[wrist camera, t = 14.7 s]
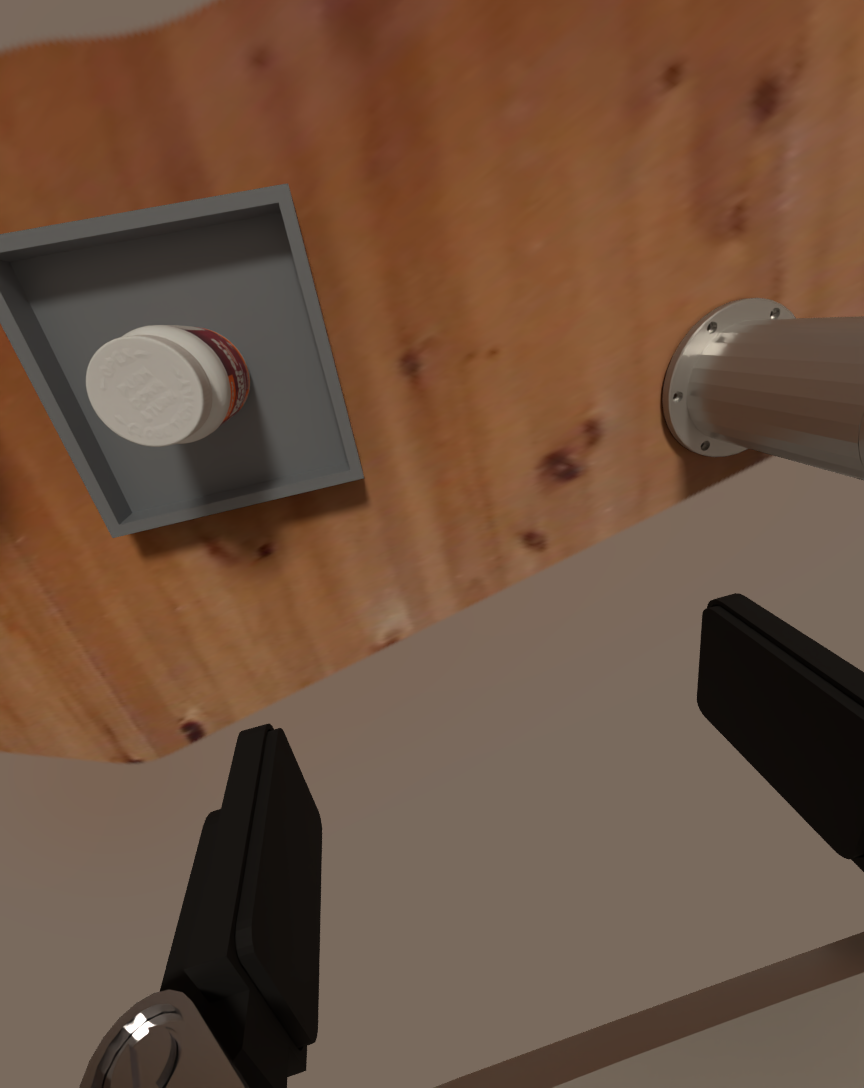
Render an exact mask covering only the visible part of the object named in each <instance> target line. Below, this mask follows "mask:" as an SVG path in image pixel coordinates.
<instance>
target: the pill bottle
mask: <svg viewBox="0 0 864 1088" xmlns="http://www.w3.org/2000/svg"><path fill="white" fill-rule="evenodd" d="M86 389H87V394H88V397H89V400H90V402H91V405H92V407H93V409H94V410H95V412H96V414H97V415H98V417H99V418H100V419H101V420H102V421H103V422H104V424H105V425H106V426H107V427H109V428H110V429H111V430H112V431H113V432H115V433H116V434H117V435H119V436H121V437H122V438H125V439H127V440H129V441H131V442H134V443H136V444H139V445H144V446H151V447H162V446H169V445H173V444H185V443H191V442H194V441H198V440H200V439H202V438H204V437H206V436H208V435H210V434H211V433H213V432H214V431H215V430H216V429H218V428H219V427H220V426H221V425H222V424H223V423H225V422H226V421H227V420H229V419H230V418H231V417H232V416H234V415H235V414H236V413H237V412H238V411H239V410H240V409H241V408H242V407H243V405H244V403H245V402H246V400H247V397H248V394H249V390H250V374H249V370H248V367H247V364H246V362H245V360H244V358H243V356H242V354H241V353H240V351H239V350H238V349H237V348H236V347H235V346H234V345H233V344H232V343H231V342H230V341H229V340H228V339H226V338H225V337H223V336H222V335H220V334H218V333H216V332H214V331H211V330H209V329H205V328H199V327H192V326H180V325H152V326H144V327H140V328H137V329H134V330H132V331H130V332H128V333H126V334H125V335H123V336H122V337H120V338H116V339H113V340H111V341H109V342H107V343H106V344H104V345H103V346H102V347H100V348H99V349H98V350H97V351H96V353H95V354H94V355H93V357H92V358H91V360H90V362H89V365H88V368H87V373H86Z"/></svg>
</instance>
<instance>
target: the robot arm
mask: <svg viewBox="0 0 864 1088" xmlns="http://www.w3.org/2000/svg"><path fill="white" fill-rule="evenodd" d="M662 402H663V411H664V417H665V420H666V423H667V426H668V428H669V430H670V432H671V433H672V435H673V437H674V438H675V439H676V440H677V441H678V442H679V443H680V444H681V445H682V446H684V447H685V448H687V449H688V450H690V451H692V452H695V453H698V454H701V455H705V456H710V457H726V456H730V455H734V454H738V453H740V452H742V451H745V450H747V449H752V450H756V451H760V452H763V453H767V454H770V455H774V456H778V457H781V458H785V459H788V460H792V461H796V462H799V463H803V464H806V465H810V466H814V467H818V468H821V469H824V470H828V471H832V472H836V473H839V474H843V475H846V476H850V477H854V478H857V479H861V480H864V316H863V317H830V318H797V319H796V318H795V316H794V315H793V313H792V312H791V311H789V310H788V309H787V308H786V307H785V306H783V305H782V304H780V303H777V302H775V301H773V300H770V299H763V298H749V299H741V300H736V301H732V302H729V303H726V304H724V305H722V306H720V307H717V308H716V309H714V310H713V311H711V312H710V313H708V314H707V315H705V316H704V317H703V318H702V319H701V320H699V321H698V322H697V323H696V324H695V325H694V326H693V327H692V328H691V329H690V331H689V332H688V333H687V334H686V336H685V337H684V338H683V340H682V341H681V342H680V344H679V346H678V348H677V349H676V351H675V353H674V355H673V357H672V359H671V362H670V364H669V367H668V370H667V373H666V377H665V381H664V386H663V400H662ZM697 703H698V706H699V709H700V711H701V712H702V714H703V715H704V716H705V717H706V718H707V719H708V720H709V722H711V724H712V725H713V726H714V727H715V728H716V729H717V730H718V731H719V732H720V733H721V734H722V735H723V736H724V737H725V738H726V739H727V740H728V741H729V742H730V743H731V744H732V745H733V746H734V747H735V748H736V749H737V750H738V751H739V753H740V754H742V756H743V757H744V758H745V759H746V760H747V761H748V762H749V763H750V764H751V765H752V766H753V767H754V768H755V769H756V770H757V771H758V772H759V773H760V774H761V775H762V776H763V777H764V778H765V779H766V780H767V781H768V782H769V783H770V785H771V786H772V787H773V788H774V789H775V790H776V791H777V792H778V793H779V794H780V795H781V796H782V797H783V798H784V799H785V800H786V801H787V802H788V803H789V804H790V805H791V806H792V807H793V808H794V809H795V810H796V811H797V812H798V813H799V814H800V816H802V818H803V819H804V820H805V821H806V822H807V823H808V824H809V825H810V826H811V827H812V828H813V829H814V830H815V831H816V832H817V833H818V834H819V835H820V836H821V837H822V838H823V839H824V840H825V841H826V842H827V843H828V844H829V845H830V846H831V847H832V848H833V849H834V850H835V851H836V852H837V853H838V854H839V855H841V856H842V857H844V858H846V859H851V860H852V861H854V863H855V864H856V865H858V867H859V868H860V869H861V870H862V871H863V872H864V672H863V671H861V670H859V669H858V668H856V667H854V666H853V665H852V664H850V663H848V662H847V661H845V660H844V659H842V658H840V657H839V656H837V655H836V654H834V653H833V652H831V651H830V650H828V649H827V648H825V647H823V646H822V645H820V644H819V643H817V642H816V641H814V640H813V639H811V638H809V637H808V636H806V635H804V634H803V633H801V632H800V631H798V630H797V629H795V628H794V627H792V626H790V625H789V624H787V623H786V622H784V621H783V620H781V619H780V618H778V617H776V616H775V615H773V614H772V613H770V612H769V611H767V610H766V609H764V608H762V607H761V606H759V605H757V604H756V603H755V602H753V601H751V600H750V599H748V598H747V597H745V596H743V595H741V594H736V593H735V594H732V595H728V596H724V597H721V598H717V599H714V600H711V601H710V602H709V604H708V606H707V609H705V610H704V611H703V615H702V630H701V645H700V660H699V675H698V690H697ZM321 856H322V824H321V818H320V814H319V811H318V809H317V807H316V805H315V802H314V800H313V798H312V795H311V793H310V791H309V788H308V786H307V784H306V782H305V780H304V777H303V775H302V772H301V770H300V768H299V766H298V763H297V761H296V759H295V756H294V754H293V752H292V749H291V747H290V745H289V743H288V741H287V738H286V736H285V733H284V731H283V730H282V729H281V728H278V729H275V730H274V729H273V727H272V725H270V724H266V725H262V726H258V727H255V728H251V729H248V730H244V731H241V732H240V733H239V736H238V739H237V743H236V747H235V752H234V756H233V761H232V765H231V769H230V773H229V777H228V782H227V786H226V790H225V794H224V799H223V803H222V808H221V809H219V810H216V811H213V812H211V813H210V814H209V815H208V816H207V818H206V820H205V823H204V825H203V829H202V833H201V837H200V840H199V844H198V848H197V852H196V856H195V859H194V863H193V867H192V871H191V874H190V879H189V882H188V886H187V890H186V894H185V897H184V901H183V905H182V909H181V913H180V916H179V920H178V924H177V928H176V932H175V936H174V939H173V943H172V947H171V951H170V955H169V958H168V962H167V966H166V970H165V974H164V978H163V981H162V985H161V989H160V992H157V993H153V994H151V995H150V996H148V997H146V998H144V999H142V1000H141V1001H139V1002H137V1003H136V1004H135V1005H134V1006H133V1007H131V1008H130V1009H129V1010H128V1011H127V1012H126V1013H124V1014H123V1015H122V1016H121V1017H120V1018H119V1019H118V1020H117V1021H116V1023H115V1024H114V1025H113V1026H112V1028H111V1029H110V1030H109V1031H108V1032H107V1034H106V1035H105V1036H104V1037H103V1039H102V1041H101V1043H100V1044H99V1046H98V1047H97V1049H96V1051H95V1052H94V1054H93V1056H92V1057H91V1059H90V1061H89V1064H88V1066H87V1069H86V1071H85V1074H84V1076H83V1079H82V1082H81V1084H80V1088H287V1077H289V1076H292V1075H295V1074H298V1073H301V1072H303V1071H306V1058H307V1045H310V1044H312V1043H314V1042H315V1041H316V1038H317V1032H318V999H319V998H318V997H319V952H320V906H321V859H322V857H321ZM434 1088H864V932H862V933H860V934H857V935H853V936H851V937H848V938H845V939H842V940H839V941H836V942H834V943H831V944H828V945H825V946H822V947H819V948H817V949H814V950H811V951H808V952H805V953H802V954H800V955H797V956H794V957H791V958H788V959H786V960H783V961H780V962H777V963H774V964H771V965H769V966H766V967H763V968H760V969H757V970H755V971H752V972H749V973H746V974H743V975H741V976H738V977H735V978H733V979H729V980H727V981H724V982H721V983H719V984H716V985H713V986H710V987H707V988H704V989H702V990H699V991H696V992H693V993H690V994H688V995H685V996H682V997H680V998H677V999H674V1000H671V1001H668V1002H665V1003H663V1004H660V1005H657V1006H655V1007H652V1008H649V1009H646V1010H643V1011H640V1012H638V1013H635V1014H632V1015H629V1016H627V1017H624V1018H621V1019H618V1020H616V1021H613V1022H610V1023H607V1024H604V1025H602V1026H599V1027H596V1028H594V1029H591V1030H588V1031H586V1032H583V1033H580V1034H577V1035H574V1036H572V1037H569V1038H566V1039H563V1040H561V1041H558V1042H555V1043H553V1044H550V1045H547V1046H544V1047H542V1048H539V1049H536V1050H533V1051H531V1052H528V1053H525V1054H522V1055H520V1056H517V1057H514V1058H512V1059H509V1060H506V1061H503V1062H501V1063H498V1064H495V1065H493V1066H490V1067H487V1068H484V1069H481V1070H479V1071H476V1072H473V1073H471V1074H468V1075H465V1076H462V1077H460V1078H457V1079H455V1080H452V1081H449V1082H447V1083H444V1084H442V1085H439V1086H437V1087H434Z"/></svg>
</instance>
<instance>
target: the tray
mask: <svg viewBox="0 0 864 1088" xmlns="http://www.w3.org/2000/svg"><path fill="white" fill-rule="evenodd" d="M0 323H1V325H2V327H3V329H4V331H5V333H6V335H7V337H8V339H9V341H10V342H11V344H12V346H13V348H14V350H15V352H16V354H17V356H18V358H19V360H20V362H21V364H22V365H23V367H24V369H25V371H26V373H27V375H28V377H29V379H30V381H31V383H32V385H33V387H34V388H35V390H36V392H37V394H38V396H39V398H40V400H41V402H42V404H43V406H44V408H45V410H46V411H47V413H48V415H49V417H50V419H51V421H52V423H53V425H54V427H55V429H56V431H57V432H58V434H59V436H60V438H61V440H62V442H63V444H64V446H65V448H66V450H67V452H68V454H69V455H70V457H71V459H72V461H73V463H74V465H75V467H76V469H77V471H78V473H79V475H80V477H81V478H82V480H83V482H84V484H85V486H86V488H87V490H88V492H89V494H90V496H91V498H92V499H93V501H94V503H95V505H96V507H97V509H98V511H99V513H100V515H101V517H102V519H103V521H104V522H105V524H106V526H107V528H108V530H109V532H110V534H111V536H112V538H115V537H119V536H123V535H127V534H132V533H136V532H140V531H144V530H149V529H153V528H157V527H161V526H165V525H170V524H174V523H178V522H182V521H186V520H191V519H195V518H199V517H203V516H207V515H212V514H216V513H220V512H224V511H228V510H233V509H237V508H241V507H245V506H249V505H254V504H258V503H262V502H266V501H270V500H275V499H279V498H283V497H287V496H292V495H296V494H300V493H304V492H308V491H313V490H317V489H321V488H325V487H329V486H334V485H338V484H342V483H346V482H350V481H355V480H359V479H363V478H364V476H363V471H362V467H361V463H360V459H359V455H358V451H357V448H356V444H355V440H354V436H353V432H352V428H351V424H350V420H349V417H348V413H347V409H346V405H345V401H344V397H343V393H342V389H341V386H340V382H339V378H338V374H337V370H336V366H335V362H334V358H333V355H332V351H331V347H330V343H329V339H328V335H327V331H326V327H325V324H324V320H323V316H322V312H321V308H320V304H319V300H318V296H317V293H316V289H315V285H314V281H313V277H312V273H311V269H310V265H309V262H308V258H307V254H306V250H305V246H304V242H303V238H302V234H301V231H300V227H299V223H298V219H297V215H296V211H295V207H294V203H293V200H292V196H291V192H290V189H289V186H288V184H282V185H276V186H271V187H265V188H260V189H254V190H248V191H243V192H237V193H231V194H226V195H220V196H214V197H209V198H203V199H197V200H192V201H186V202H180V203H175V204H169V205H163V206H158V207H152V208H147V209H141V210H135V211H130V212H124V213H118V214H113V215H107V216H101V217H96V218H90V219H84V220H79V221H73V222H67V223H62V224H56V225H50V226H45V227H39V228H34V229H28V230H22V231H17V232H11V233H5V234H0ZM152 325H180V326H192V327H199V328H205V329H209V330H211V331H214V332H216V333H218V334H220V335H222V336H223V337H225V338H226V339H228V340H229V341H230V342H231V343H232V344H233V345H234V346H235V347H236V348H237V349H238V350H239V351H240V353H241V354H242V356H243V358H244V360H245V362H246V364H247V367H248V370H249V374H250V390H249V394H248V397H247V400H246V402H245V403H244V405H243V407H242V408H241V409H240V410H239V411H238V412H237V413H236V414H235V415H234V416H232V417H231V418H230V419H229V420H227V421H226V422H225V423H223V424H222V425H221V426H220V427H219V428H218V429H216V430H215V431H214V432H213V433H211V434H210V435H208V436H206V437H204V438H202V439H200V440H198V441H194V442H191V443H185V444H173V445H169V446H162V447H151V446H144V445H139V444H136V443H134V442H131V441H129V440H127V439H125V438H122V437H121V436H119V435H117V434H116V433H115V432H113V431H112V430H111V429H110V428H109V427H107V426H106V425H105V424H104V422H103V421H102V420H101V419H100V418H99V417H98V415H97V414H96V412H95V410H94V409H93V407H92V405H91V402H90V400H89V397H88V394H87V389H86V373H87V368H88V365H89V362H90V360H91V358H92V357H93V355H94V354H95V353H96V351H97V350H98V349H99V348H100V347H102V346H103V345H104V344H106V343H107V342H109V341H111V340H113V339H116V338H120V337H122V336H123V335H125V334H126V333H128V332H130V331H132V330H134V329H137V328H140V327H144V326H152Z"/></svg>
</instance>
